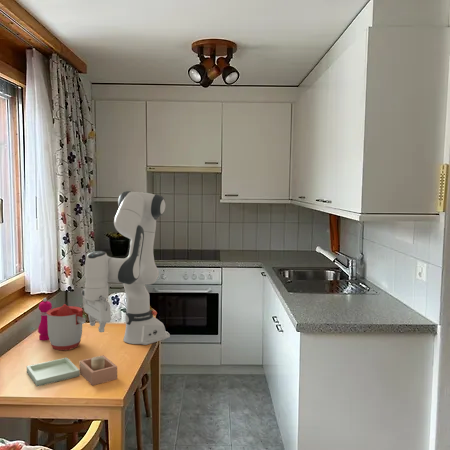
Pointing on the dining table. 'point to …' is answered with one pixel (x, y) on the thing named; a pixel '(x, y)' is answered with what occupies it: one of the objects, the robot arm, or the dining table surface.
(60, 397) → the dining table surface
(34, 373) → the tray
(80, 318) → the citrus juicer
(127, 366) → the dining table surface
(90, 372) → the open square frame
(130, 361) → the dining table surface
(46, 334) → the pepper mill
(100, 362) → the beech cylinder
